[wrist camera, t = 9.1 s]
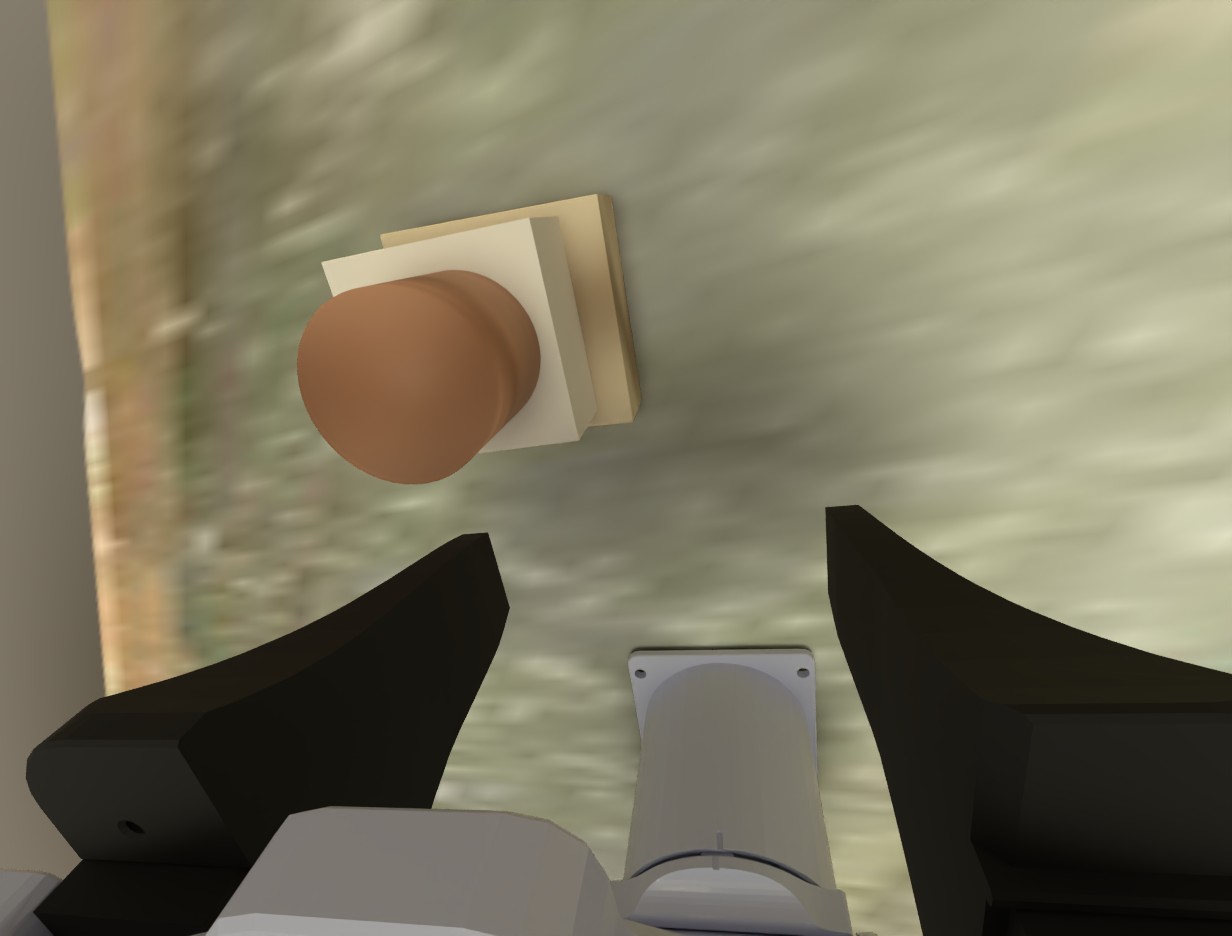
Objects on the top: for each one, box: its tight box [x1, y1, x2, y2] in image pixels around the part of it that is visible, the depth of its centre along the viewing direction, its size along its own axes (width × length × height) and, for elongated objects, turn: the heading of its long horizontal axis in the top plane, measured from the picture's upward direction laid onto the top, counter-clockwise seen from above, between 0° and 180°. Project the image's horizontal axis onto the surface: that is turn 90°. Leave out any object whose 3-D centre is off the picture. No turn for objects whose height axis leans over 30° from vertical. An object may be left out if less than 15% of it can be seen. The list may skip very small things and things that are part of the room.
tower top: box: [321, 217, 598, 454], centre depth 18 cm, size 6×6×3 cm
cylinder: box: [297, 270, 541, 484], centre depth 15 cm, size 4×4×4 cm
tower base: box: [380, 194, 642, 427], centre depth 20 cm, size 7×7×3 cm
